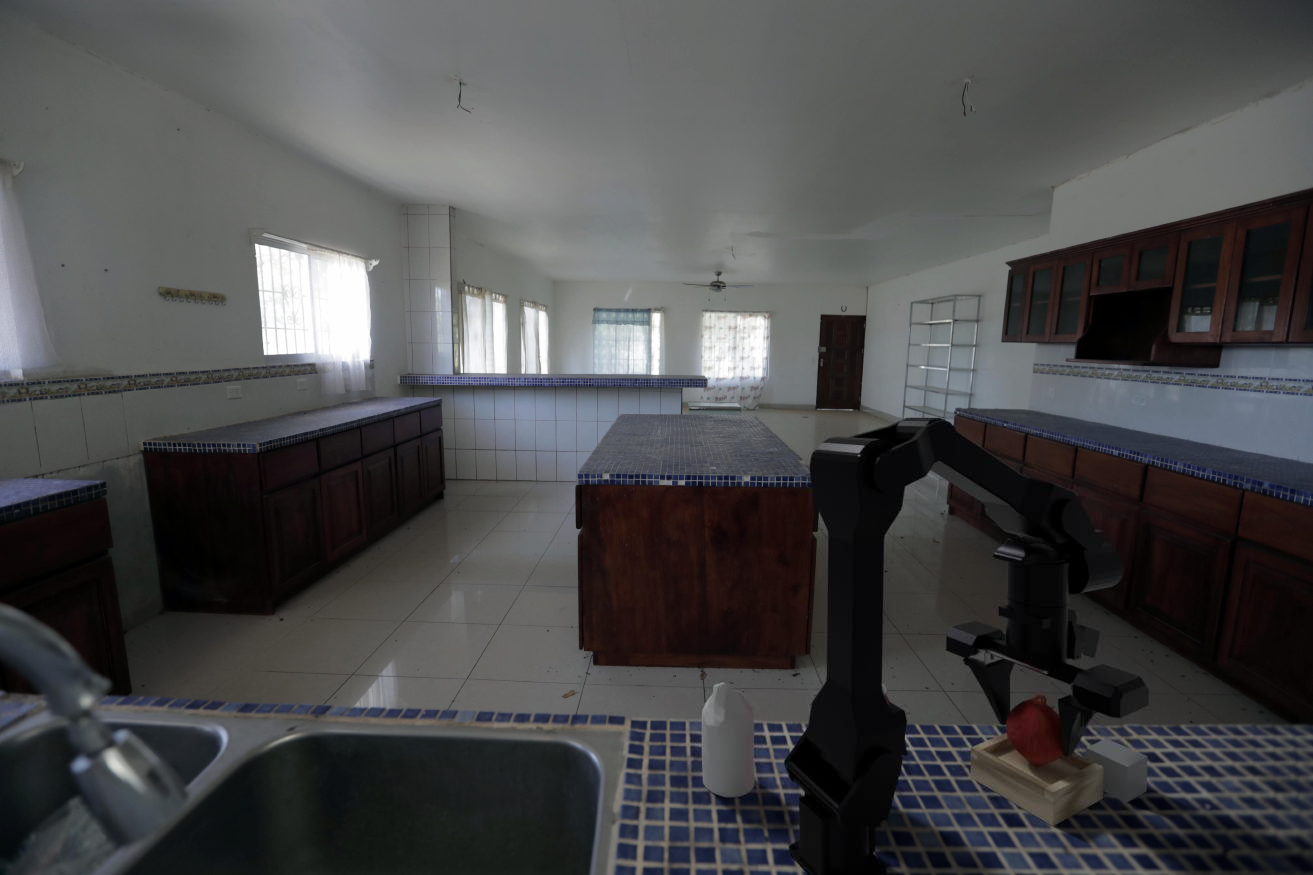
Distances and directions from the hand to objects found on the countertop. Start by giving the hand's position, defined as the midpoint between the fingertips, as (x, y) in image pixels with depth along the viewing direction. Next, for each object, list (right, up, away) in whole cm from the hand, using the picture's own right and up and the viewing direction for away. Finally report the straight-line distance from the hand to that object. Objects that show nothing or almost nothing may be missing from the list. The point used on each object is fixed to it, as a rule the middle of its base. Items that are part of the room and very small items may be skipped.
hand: (1034, 738), depth 65 cm
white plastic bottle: (-34, -6, +2) cm, 34 cm away
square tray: (0, -6, 0) cm, 6 cm away
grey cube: (+9, -6, 0) cm, 11 cm away
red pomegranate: (0, -3, 0) cm, 3 cm away
